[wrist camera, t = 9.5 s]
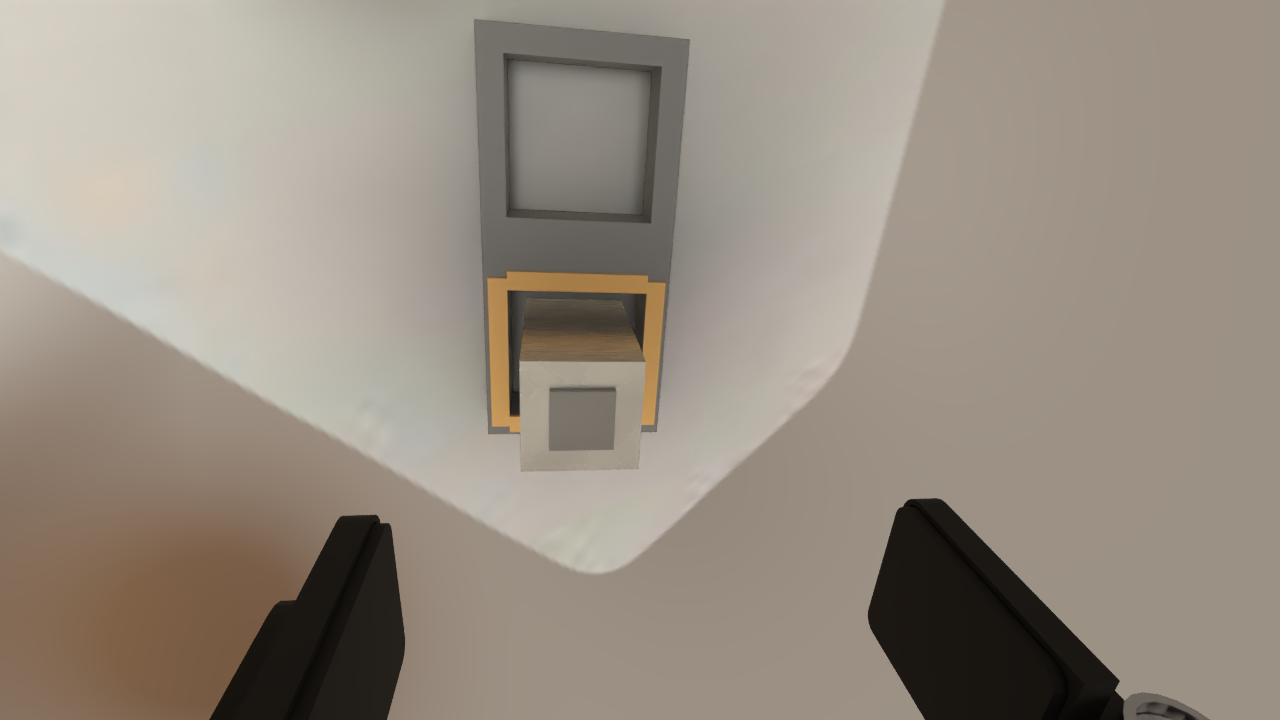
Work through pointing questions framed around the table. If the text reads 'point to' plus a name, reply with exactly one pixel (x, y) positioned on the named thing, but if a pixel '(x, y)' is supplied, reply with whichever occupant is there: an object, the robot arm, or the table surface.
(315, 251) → the table surface
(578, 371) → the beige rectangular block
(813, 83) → the table surface
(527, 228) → the frame with rectangular openings
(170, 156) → the table surface
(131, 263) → the table surface
